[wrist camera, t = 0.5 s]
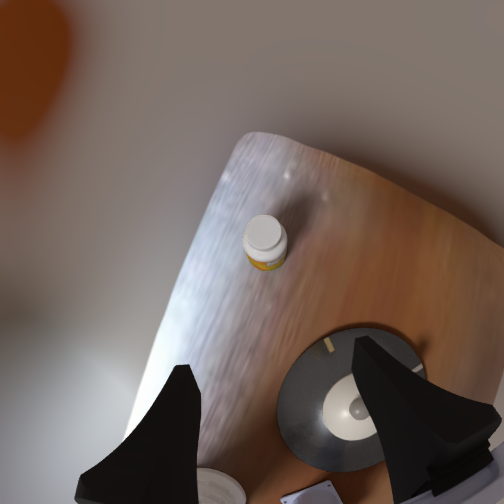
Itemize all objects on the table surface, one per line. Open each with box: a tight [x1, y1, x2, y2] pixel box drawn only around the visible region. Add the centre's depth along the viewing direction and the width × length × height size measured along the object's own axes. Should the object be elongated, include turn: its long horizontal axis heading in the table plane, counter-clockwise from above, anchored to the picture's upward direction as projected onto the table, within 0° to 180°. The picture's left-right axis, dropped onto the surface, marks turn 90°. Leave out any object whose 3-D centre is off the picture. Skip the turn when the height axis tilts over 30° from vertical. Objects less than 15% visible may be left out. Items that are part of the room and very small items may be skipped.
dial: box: [322, 372, 426, 440], centre depth 31 cm, size 14×10×5 cm
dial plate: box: [277, 328, 426, 472], centre depth 34 cm, size 22×22×1 cm
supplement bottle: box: [242, 214, 287, 272], centre depth 36 cm, size 5×5×10 cm
